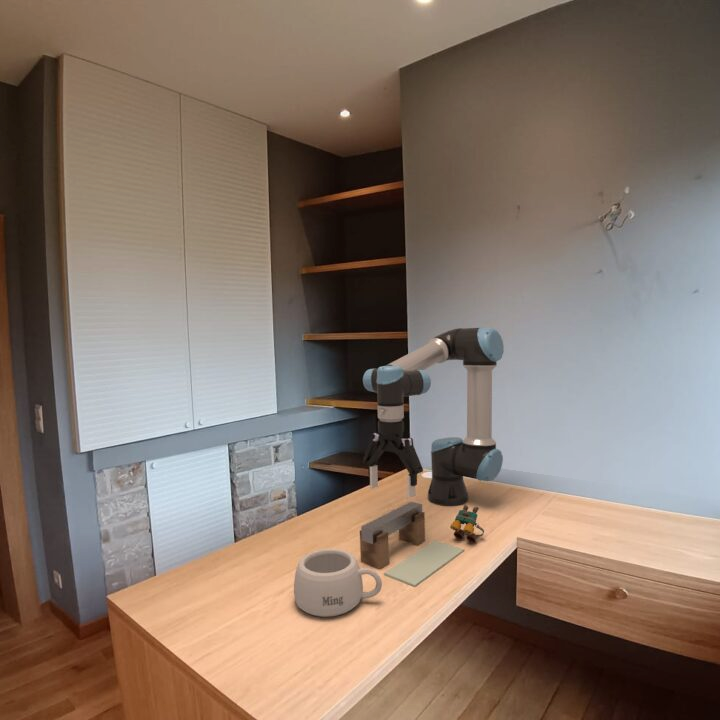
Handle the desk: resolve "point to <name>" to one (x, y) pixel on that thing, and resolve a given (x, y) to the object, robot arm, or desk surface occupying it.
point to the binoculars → (469, 520)
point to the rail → (390, 522)
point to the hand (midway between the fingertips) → (392, 491)
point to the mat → (423, 563)
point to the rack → (379, 551)
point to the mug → (331, 582)
